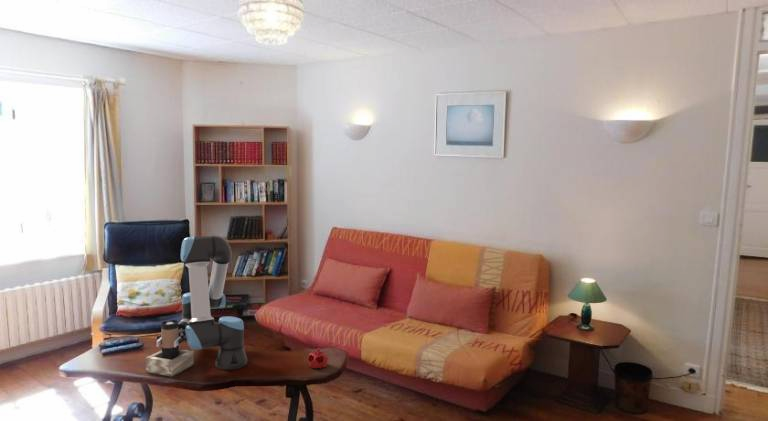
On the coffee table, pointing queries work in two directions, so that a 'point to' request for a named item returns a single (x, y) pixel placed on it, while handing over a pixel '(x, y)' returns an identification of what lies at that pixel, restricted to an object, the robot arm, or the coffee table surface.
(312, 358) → the pomegranate
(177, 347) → the travel mug
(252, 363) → the coffee table surface
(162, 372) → the well
